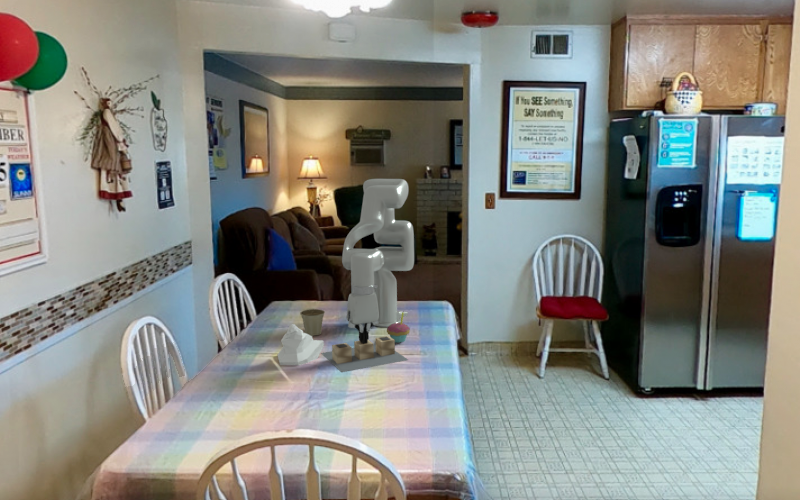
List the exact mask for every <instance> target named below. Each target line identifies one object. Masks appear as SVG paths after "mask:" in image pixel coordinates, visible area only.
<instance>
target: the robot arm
mask: <svg viewBox="0 0 800 500" xmlns="http://www.w3.org/2000/svg"><path fill="white" fill-rule="evenodd" d="M362 188H363V197H362V205H361V212H360V218H359V222H358V223H357V224H356V225H354V227H353V228H352V229H351V230H350V231H349V233H348V234H347V236H346V237H345V239H344V243H343V249H342V256H341V257H342V258H341V262H342V265H343V268H344V269H346V270H347V271H350V272H351V273H350V275H351V278H350V281H351V283H350V284H351V285H350V286H351V293H349V295H348V298H347V310H346V320H347V322H348V324H347V327H348V328H349V329H356V330H357V331H358V341H360V342H361V343H363V344H365V343H368V340H369V338H370V337H369V336H370V335H369V332H370V331H371V329H372V328H373V326H375V327H378V328H379V327H380V328H387V327H388V326H390V325H391V324H393V323H399V322H400V323H401V316H402V313H404V315H403V318H404V317H408V315H409V313H408V311H404V312H403V311H401V310H399V311H398V297H397V295H398V293H397V292H398V289H397V287H398V286H397V284H398V283H397V282H398V281H397V279H396V276H395V275H394V274H393V272H392V271H395V272H398V271H399V272H402V271H403V272H407V271H411V270H412V269H413V268H414V265H415V238H414V237H415V235H414V226H413V224H412V223H411V222H410V221H408V220H396V219H395V209H401V208H402V207H403V205H405V202H406V200H407V199H408V196H409V183H408V182H407V181H406V180H405V179H402V178H371V179H367V180H365V181H364V182H363V186H362ZM372 234H373V238H374V241H375V242H376V243H377V244H379V245H400V246H379V247H375V248H354V246H355V245H356V243H358V242H359V240H361V239H362V238H365V237H367V236H369V235H372Z"/></svg>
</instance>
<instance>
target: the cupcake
mask: <svg viewBox="0 0 800 500" xmlns="http://www.w3.org/2000/svg"><path fill="white" fill-rule="evenodd" d="M402 312H405V310H403V311H402ZM403 315H404V313H402V316H401V318H400V319H401V323H400V322H399V323H393V324H391V325H390V326H388V327H386V333H387V334H388V336H389V337H391V338H392V339H394V340H395V343H403V342H406V339H407V336H408V335H409V334H410V330H411V327H409V326H408V324H406V323H404V322H403V321H404V317H403Z"/></svg>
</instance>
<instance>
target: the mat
mask: <svg viewBox="0 0 800 500" xmlns="http://www.w3.org/2000/svg"><path fill="white" fill-rule="evenodd" d="M373 347H374V358H368V359H363V360H359V359H358V358H357V357H356V356H355V355H354V347H351V349H352V362H346V363H340V364H337V363H336V362H335V361H334V360H333V359H332V350H331V351H325V352H320V354H321V355H322V356H323V357H324V358H326V359H327V361H328V362H330V363H331V364H332V365H333V366H334V367H335V368H336V369H337V370H338V371H339V372H340V373H347V372H352V371H358V370H361V369H362V370H363V369H367V368H368V369H369V368H374V367H378V366H383V365H389V364H393V363H400V362H405V361H409V359H407V357H405V356H403V355H402V354H400V352H398V351H396V350H395V354H391V355H385V356H381V355H379V354H378V353H377V352H376V343H375V344H374V343H373Z"/></svg>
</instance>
